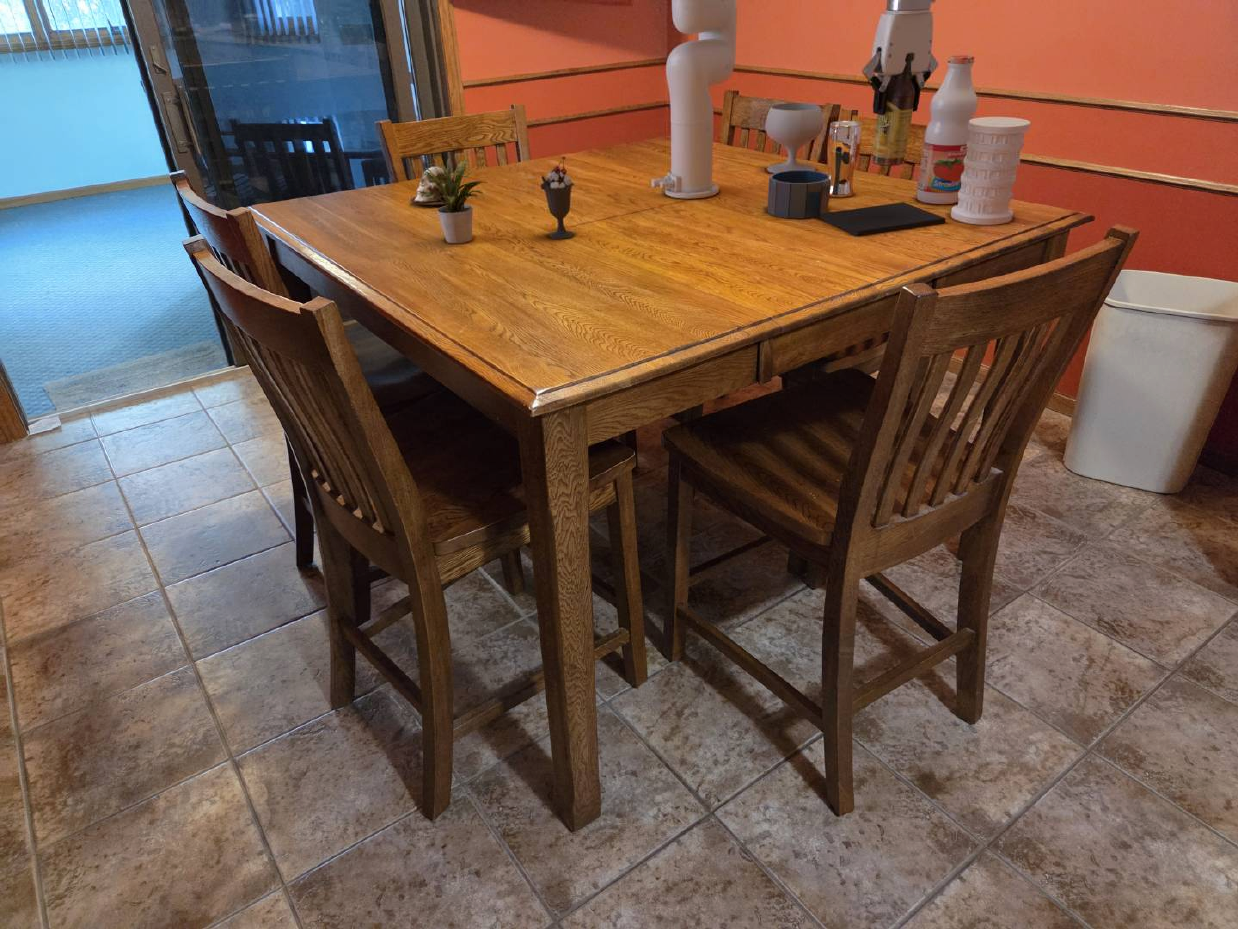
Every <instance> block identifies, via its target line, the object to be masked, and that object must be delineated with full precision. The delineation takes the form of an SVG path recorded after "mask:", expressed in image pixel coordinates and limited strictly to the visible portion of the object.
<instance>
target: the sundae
mask: <svg viewBox="0 0 1238 929" xmlns="http://www.w3.org/2000/svg"><path fill="white" fill-rule="evenodd" d="M566 159H567V157H566V156H562V158H561V161H560V162H559V163H558V165H555V166H554V167H553V168H552V170H550V171H549V172H548V173H547V175H546V178H545V176H544V175H542V176H541V180H542V182H543V183H541V184H540V189H541V190H542V191H544V194H545V198H546V202H547V207H548V211H549V213H550V214H551V215H552V216H553V217H554V218H555V219H556V220H557V229H556V231H554V232H551V233H550V234H549V238H551V239H553V240H563V239H564V240H566V239H570V238H572V237H574V232H572V231H568V230H567V229H566V227H565V223H564V219H565V218H566V216H568V214H569V213H570V210H571V195H572V188H573V186H574V185H575V183H573V182H572V179H571V178H570V176H569V175H568V174H567V173H568V171H567V169H565V164H564V161H565V160H566ZM561 163H562V168H560V165H561Z"/></svg>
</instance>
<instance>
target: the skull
mask: <svg viewBox="0 0 1238 929" xmlns="http://www.w3.org/2000/svg"><path fill="white" fill-rule="evenodd" d="M434 167H435V168H436V169H437V170H438V172H439V173H443V174H444V171H443V168H442V167H440V166H434ZM434 167H433V166H430V167H428V169H429V170H430V171H431V172H432V173H433V174H434V175H435V176H436V177H437V179H438V180H439V182H440V183H441V184H443V185H444V183H443V181H442V179H441V177H440V176H439V175H438V174H436V173H438V172H437V170H436V169H435V168H434ZM425 171H427V172H429V171H428V170H427V169H426V170H425ZM422 172H423V173H422V174H421V179H420V182H419V183H418V185H419V186H418V188H416V194H417V196H415V197H412V198H411V199H410V202H411V203H413V204H416V205H427V206H428V205H431V206H432V205H443V206H445V205H446V204H444V203H443V202H442V201H441V200H443V201H444V202H445V200H444V198H443V197H442V193H441V191H440V190H439V189H438V188H437V187H436V185H435V183H434V182H433V181H432V180H431V179H430V178H429V177H430V176H429V175H428V174H427V173H425V172H424V171H422ZM424 173H425V174H427V175H428V176H429V177H428V176H426V175H425V174H424ZM429 173H430V172H429ZM430 174H431V173H430ZM431 175H432V174H431ZM452 182H453V175H452V174H451V183H452ZM453 185H454V184H453ZM444 186H445V185H444ZM425 193H432V194H435V195H436V196H425V197H423V195H424V194H425ZM437 196H438V197H439V198H440V199H441V200H439V199H434V198H432V199H428V198H431V197H435V198H438V197H437ZM440 196H441V197H440ZM422 197H423V198H422ZM458 197H459V195H458ZM426 199H428V200H426ZM445 203H446V202H445ZM446 206H447V205H446Z"/></svg>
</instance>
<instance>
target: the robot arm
mask: <svg viewBox="0 0 1238 929" xmlns="http://www.w3.org/2000/svg"><path fill="white" fill-rule="evenodd" d="M936 1H937V0H887V1H886V9H885V12H884V13H883V12H882V13H881V15H880V18H879V20H878V24H877V27H876V30H875V31H876V32H875V36H874V39H873V41H874V42H873V46H872V50H871V51H872V52H871V59H870V60H869V61H868V62H867V63H866V65H865V66H864V67H863V68H862V70H861V73H862V75H863V76H864V77H865V80H867V82H868V84H869V85H870V86H871V89H872V90H873V91H874V92H873V102H872V112H873V114H876V115H878V114H879V115H884V114H885V113H886V106H887V98H888V92H886V91H885V90H886V87H887V85H888V83H889V81H890V79H891V76H892V75H898V74H900V73H902V72H903V70H904V67H905V65H906V62H905V59H906V55H907V54H908V53H914V60H913V61H912V62H911V72H912V77H911V82H912V84H913V87H914V90H915V97H914V103H913V112H918V109H919V104H920V97H921V90H922V89H923V88H924V87H925V83H926V82H927V81H928V80H929V79H930V77H931V76H932V74H933V73H934V72H935V71H936V69H937V68H938V67H939V62H938V61H937V59H936V58H935V56H934V55H933V54H932V48H933V39H934V38H933V36H934V17H933V16H934V15H933V11H931V7H932V4H934V3H936ZM737 11H738V9H737V2H736V0H671V13H672V14H671V15H672V16H671V17H672V21H673V22H672V23H673V25H674V27H675V29H677V31H679V33H682V34H685V35H696V34H698V39H696V40H690V41H686V42H683V43H681V44H679V45H677V46H675V47H674V48H673V49H672V50H671V52H670V53H669V55H668V57H667V60H666V65H665V75H666V83H667V86H668V92H669V103H670V104H669V106H670V172H669V171H668V172H667V173H666V175H665V176H664V177H662V178H660V177H658V178H652V179H651V180H650V181H651V187H652V188H661V189H664V194H665V195H667V196H668V197H671V198H675V199H686V200H687V199H693V200H695V199H703V198H708V197H713V196H715V195H717V194H718V193H719V192H720V190H719V188H720V187H719V185H717V184H716V183H713V162H714V160H713V159H714V158H713V156H714V105H713V100H712V96H711V93H710V90H709V88H710V87H713V86H717V85H720V84H723V83H724V82H726V81H727V80H728V79H729V78H730V76H731V75H732V73H733V71H734V69H735V65H736V56H737V19H738V18H737V16H738V12H737Z"/></svg>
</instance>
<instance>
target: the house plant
mask: <svg viewBox="0 0 1238 929" xmlns="http://www.w3.org/2000/svg"><path fill="white" fill-rule="evenodd" d="M465 159H466V158H464V159H463V160H462V161H461V162H460V163H458V166H457V167H456V169H455V170H454V172H453V175H452V174H451V165H450V156H448V157H447V161H446V166H445V165H444V164H441V168H442V169H443V171H444V174H443V173H439V172H438V170H437V169H436V168H435V167H436V166H434V165H433V164H429V163H427V166H430V167H434V168H435V169H436V170H437V172H438V173H436V174H438V175H439V176H440V177H441V179H442V181H443V183H444V185H445V186H444V185H443V184H441V183H440V182H439V180H438V179H437V177H436V176H435V175H434V174H433V173H432V172H431V171H430V170H429V167H428V168H427V167H425V166H422V167H423V168H424V169H423V168H422V169H421V170H422V171H421V170H418V169H417V170H416V169H415V171H416V172H419V173H422V174H423V172H425V173H427V174H428V175H429V176H430V177H429V176H428V175H427V174H425V173H424V174H425V175H426V176H428V177H429V178H430V179H431V180H432V181H433V182H434V183H435V185H436V187H437V188H438V189H439V190H440V191H441V193H442V197H443V198H444V200H445V202H446V203H445V202H444V201H443V200H441V199H440V198H439V197H438V196H437V197H438V198H435V197H431V198H428V199H432V198H434V199H439V200H441V201H442V202H443V203H444V204H446V205H443V206H441V207H439V208H437V210H436V213H437V215H438V218H439V221H440V224H441V227H442V230H443V234H444V237H445V240H446V242H447V243H449V244H450V243H451V244H463V243H468V242H471V240H473V217H474V216H473V214H474V213H473V211H474V207H473V206H472V205H470V204H465V203H466V201H467V200H468V199H469V198H470V197H474V198H477V199H479V197H478V194H480V195H482V196H483V197H484V198H485V194H484V192H482V191H481V190H478V189H475V190H472V189H473V188H474V187H476V186H478V185H480V184H484V183H485V181H481V180H477V181H470V182H468V183H464V182H465V181H466V179H467V178H468V177H469V176H470V174H471V173H473V171H474V170H476V169H477V168H478V167H480V166H481V165H477V166H475V167H473V168H472V169H471V170H470V171H467V172H466V165H467V163H468V160H469V159H466V160H465ZM425 169H426V170H428V171H429V172H430V173H431V174H432V175H431V174H430V173H429V172H427V171H426V170H425ZM464 174H467V175H464ZM451 175H452V177H453V182H452V183H451ZM463 178H465V179H464V180H463ZM462 180H463V183H462ZM453 184H454V185H453ZM476 193H477V194H476ZM425 196H436V195H435V194H432V193H425V194H424V195H423V197H425ZM458 196H459V197H458ZM423 197H422V198H423ZM440 197H441V196H440ZM428 199H426V200H428Z"/></svg>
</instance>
